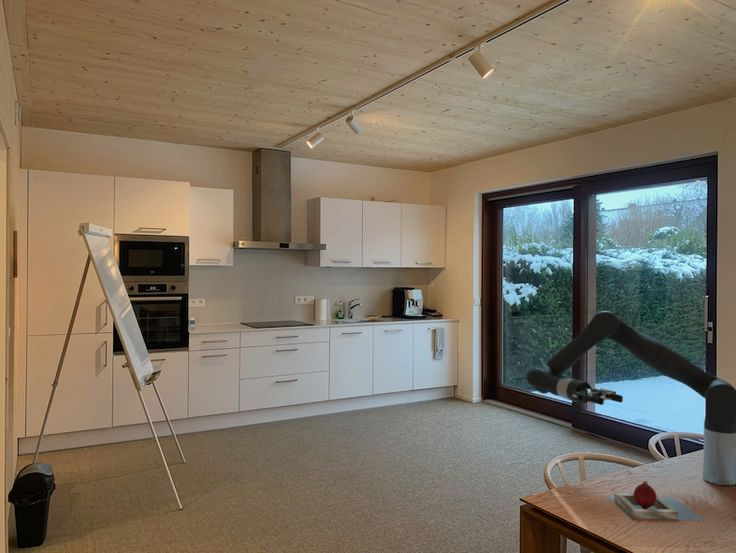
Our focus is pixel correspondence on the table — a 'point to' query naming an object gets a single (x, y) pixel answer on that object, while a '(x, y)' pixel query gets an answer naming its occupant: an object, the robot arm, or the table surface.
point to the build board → (682, 510)
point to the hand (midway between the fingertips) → (612, 400)
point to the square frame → (661, 513)
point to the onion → (645, 495)
